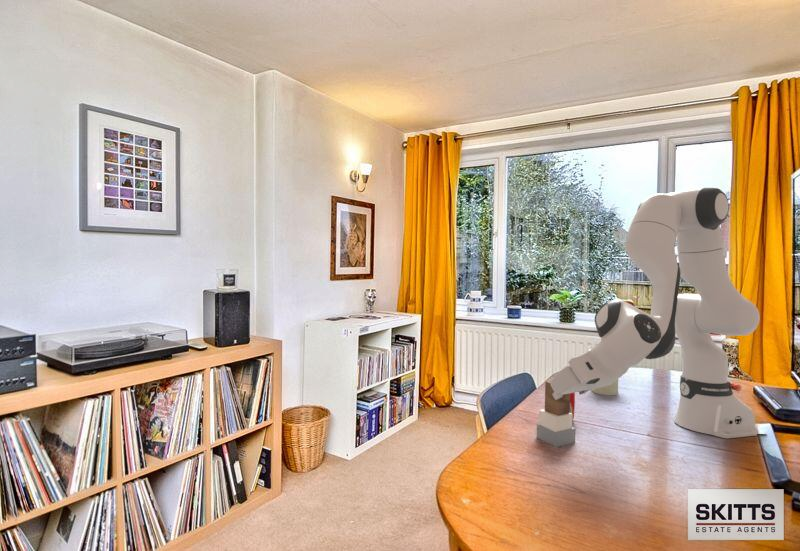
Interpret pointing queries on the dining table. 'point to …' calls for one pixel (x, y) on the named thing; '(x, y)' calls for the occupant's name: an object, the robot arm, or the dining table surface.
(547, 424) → the tower top
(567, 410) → the pillar
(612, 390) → the can
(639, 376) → the dining table surface
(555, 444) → the tower base
